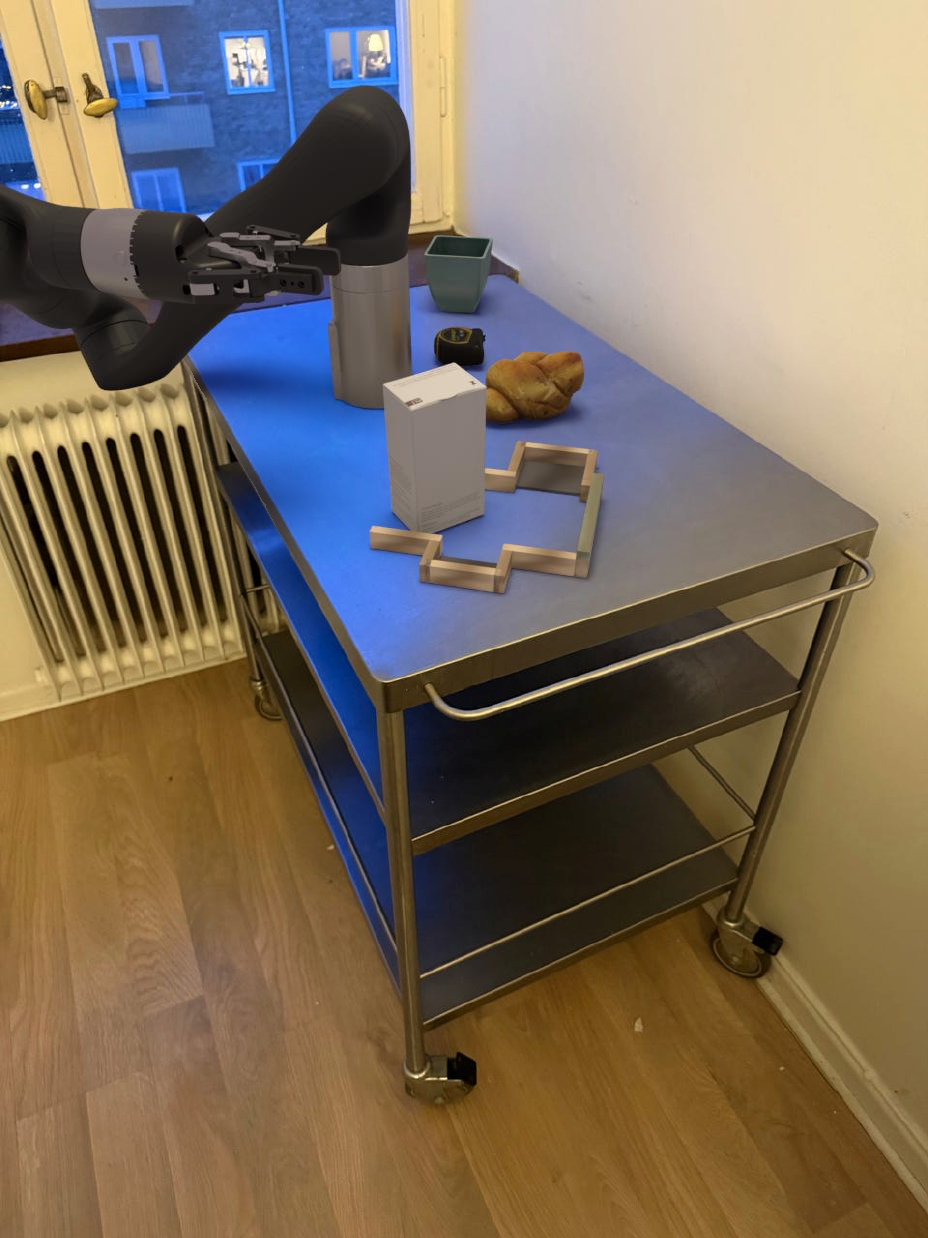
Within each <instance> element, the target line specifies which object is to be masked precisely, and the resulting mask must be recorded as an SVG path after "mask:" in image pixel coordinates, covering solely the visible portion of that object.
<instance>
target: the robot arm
mask: <svg viewBox="0 0 928 1238" xmlns="http://www.w3.org/2000/svg"><path fill="white" fill-rule="evenodd" d="M411 146H412V145H411V138H410V130H409V124H408V121H407V118H406V116H405V113H404V111H403V109H402V108H401V106H400V104H399V103H398V102H397V100H396V99H395V98H394V97H393V96H392V95H391V94H389V93H388V92H387V91H386V90H384V89H383V88H379V87H377V86H373V85H369V84H368V85H364V84H363V85H356V86H352V87H349V88H348V89H345V90H344V91H342V92H341V93H339V94H337V96H335V97H334V98H332V99H331V100H329V101H328V102H327V103H325V104H324V105H323V106H322V107H321V108H320V109H319V110H318V112H317V113H316V114H315V116H314V117H313V118H312V119H311V121H310V122H309V123H308V125H307V126H306V127H305V129H304V130H303V131H302V132H301V134H300V135H299V136H298V137H297V139H296V140H295V141H294V143H293V144H292V145H291V146H290V148H289V149H288V150H287V151H286V152H285V153H284V155H282V157H281V158H279V160H278V161H277V163H276V164H275V165H274V166H273V167H272V168H271V169H270V170H269V171H268V172H267V173H266V174H265V175H264V176H263V177H262V178H260V179H259V180H258V181H256V182H255V183H254V184H252V185H250V186H249V187H247V188H246V189H244V190H242V191H241V192H239V193H237V194H236V195H235V196H233V197H232V198H230V199H229V200H228V201H226V202H225V203H224V204H223V205H221V206H220V207H219V208H218V209H216V210H215V211H214V212H213V213H212V214H211V215H209V216H208V217H207V218H206V219H205V220H203V219H202V218H201V217H200V216H199V215H197V214H195V213H190V212H181V211H180V212H178V211H166V210H155V209H143V208H141V209H140V208H134V207H133V208H131V207H113V208H92V207H83V206H70V205H69V206H68V205H61V204H56V203H53V202H50V201H46V200H42V199H39V198H36V197H33V196H30V195H29V194H26V193H23V192H20V191H18V190H15V189H13V188H12V187H9V186H8V185H7V186H6V185H4V184H2V183H0V302H1V303H6V304H9V305H11V306H13V307H14V308H16V309H17V310H18V311H20V312H21V313H22V314H24V315H26V316H27V317H28V318H30V319H32V320H33V321H34V322H36V323H38V324H40V325H42V326H44V327H47V328H50V329H56V330H69V329H70V330H71V331H72V333H74V336H75V339H76V343H77V346H78V348H79V351H80V353H81V355H82V357H83V360H84V361H85V364H86V365H87V367H88V370H89V371H90V374H91V376H92V378H93V380H94V381H95V383H96V385H97V387H98V388H99V389H100V390H102V391H105V392H106V391H109V392H115V391H116V392H117V391H124V390H125V391H126V390H131V389H135V388H139V387H143V386H147V385H150V384H152V383H156V382H159V381H160V380H163V379H164V378H166V377H167V376H169V374H170V373H172V371H173V370H174V369H175V368H176V367H177V366H178V365H179V364H180V362H182V360H183V359H184V358H185V357H186V356H187V355H188V354H189V353H190V352H191V351H192V350H193V349H194V348H195V346H196V345H198V343H200V341H201V340H203V338H204V337H206V335H208V334H209V332H211V331H212V330H213V329H215V328H216V326H218V325H219V324H220V323H221V322H223V321H224V320H225V319H226V318H227V317H228V316H230V315H231V314H233V312H235V311H236V310H237V309H238V308H240V307H241V306H242V305H244V304H255V303H256V304H260V303H264V302H265V301H266V297H265V296H270V297H274V296H278V295H279V294H280V293H285V294H287V293H288V294H295V295H296V294H297V295H307V296H320V295H321V293H323V292H324V290H325V284H324V276H328V278H329V280H328V281H329V289H330V298H331V299H330V300H331V311H332V319H330V321H329V322H328V323H327V335H328V346H329V354H330V355H329V356H330V357H329V358H330V366H331V376H332V378H331V379H332V387H333V388H332V389H333V396H334V399H336V400H342V401H344V402H345V403H347V404H349V405H351V406H353V407H354V406H355V407H358V408H363V409H384V399H383V384H385V383H389V382H392V381H396V380H399V379H403V378H406V377H409V376H413V364H412V363H413V358H412V357H413V355H412V330H411V329H412V327H411V326H412V325H411V322H412V321H411V301H410V300H411V299H410V298H411V296H410V295H411V294H410V293H411V292H410V269H409V267H410V265H409V262H410V261H409V232H410V225H411V217H412V151H411V150H412V149H411V148H412V147H411ZM325 225H326V228H325V231H324V233H325V234H324V236H325V246H316V245H315V246H314V245H313V246H312V245H304V243H305V242H306V241H307V240H308V239H309V238H310V237H311V236H312V235H314V233H315V232H317V231H318V230H319V229H321V228H322V227H323V226H325ZM125 298H129V299H130V298H131V299H141V300H150V301H161V306H160V309H159V312H158V315H157V316H156V319H155V321H154V323H153V324H152V326H151V325H150V323H149V322H148V320H147V318H146V317H145V315H144V314H143V312H142V311H141V310H140V309H139V308H138V307H137V306H136V305H134V304H133V303H131V302H130V301H129V300H126V299H125Z"/></svg>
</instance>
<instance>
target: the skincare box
mask: <svg viewBox="0 0 928 1238" xmlns="http://www.w3.org/2000/svg"><path fill="white" fill-rule="evenodd" d="M486 391H487V387H486V384H484V383H482V382H481V381H480V380H478V379H476V378H475V376H473V375H471V374H470V373H468V372H467V371H466V370H465V369H464V368H463V367H460V366H459V365H457V364H456V363H451V364H448V365H445V364H444V365H441V366H439V367H435V368H432V369H429V370H425V371H423V372H420V373H416V374H414V375H413V376H409V377H406V378H403V379H399V380H396V381H392V382H389V383H385V384H383V399H384V408H383V409H384V410H383V411H384V423H385V425H384V426H385V434H386V435H385V436H386V437H385V438H386V449H387V460H388V463H387V464H388V475H389V476H388V477H389V487H390V503H391V511H392V512H393V514H394V515H395V516H396V517H397V518H398V519H399V520H400V521H401V522H402V523H403V524H404V525H405V527H407V529H409V531H415V532H422V533H430V534H436V533H437V532H441V531H443V530H445V529H448V528H451V527H454V526H456V525H459V524H462V523H464V522H466V521H469V520H472V519H475V518H477V517H480V516H482V515H485V503H486V502H485V497H486V496H485V494H486V491H485V490H486V489H485V468H486V435H487V434H486V429H487V428H486V423H487V422H486V421H487V420H486Z"/></svg>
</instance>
